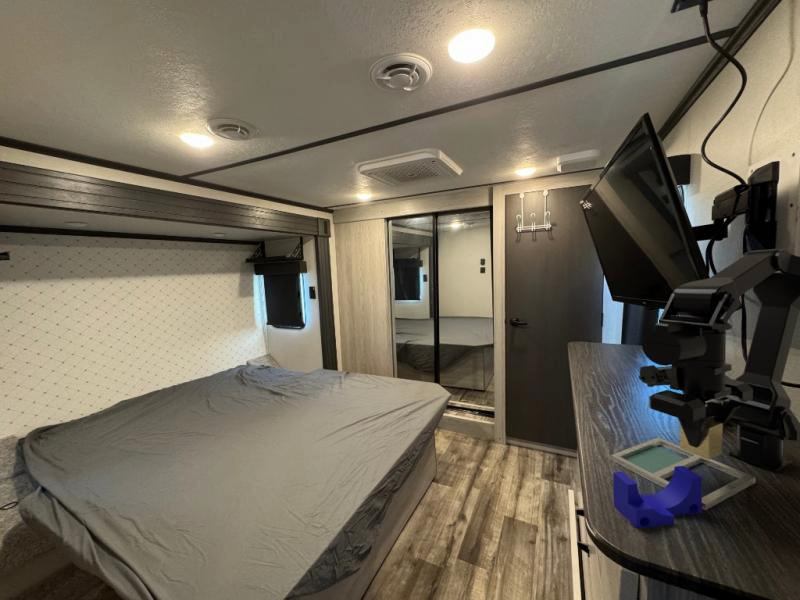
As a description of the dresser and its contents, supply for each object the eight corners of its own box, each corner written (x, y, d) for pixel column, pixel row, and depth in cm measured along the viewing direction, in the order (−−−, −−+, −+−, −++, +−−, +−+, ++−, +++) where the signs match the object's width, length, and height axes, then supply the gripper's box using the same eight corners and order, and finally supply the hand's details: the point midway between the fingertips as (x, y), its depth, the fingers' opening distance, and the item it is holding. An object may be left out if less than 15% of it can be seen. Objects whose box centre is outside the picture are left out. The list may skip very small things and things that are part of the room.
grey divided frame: (657, 441, 68) (657, 437, 68) (755, 482, 54) (755, 477, 54) (610, 459, 62) (610, 455, 62) (705, 510, 48) (705, 504, 48)
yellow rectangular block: (693, 442, 57) (693, 413, 56) (722, 453, 53) (722, 422, 53) (680, 447, 55) (680, 418, 55) (708, 459, 52) (709, 428, 51)
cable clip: (636, 529, 46) (635, 491, 46) (613, 507, 51) (613, 472, 50) (711, 521, 47) (712, 483, 46) (683, 500, 51) (683, 465, 51)
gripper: (678, 341, 64) (678, 414, 65) (617, 355, 57) (618, 435, 58) (755, 352, 53) (753, 438, 55) (691, 370, 47) (690, 467, 48)
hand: (700, 443), depth 54 cm, fingers closed on yellow rectangular block, 4 cm apart
